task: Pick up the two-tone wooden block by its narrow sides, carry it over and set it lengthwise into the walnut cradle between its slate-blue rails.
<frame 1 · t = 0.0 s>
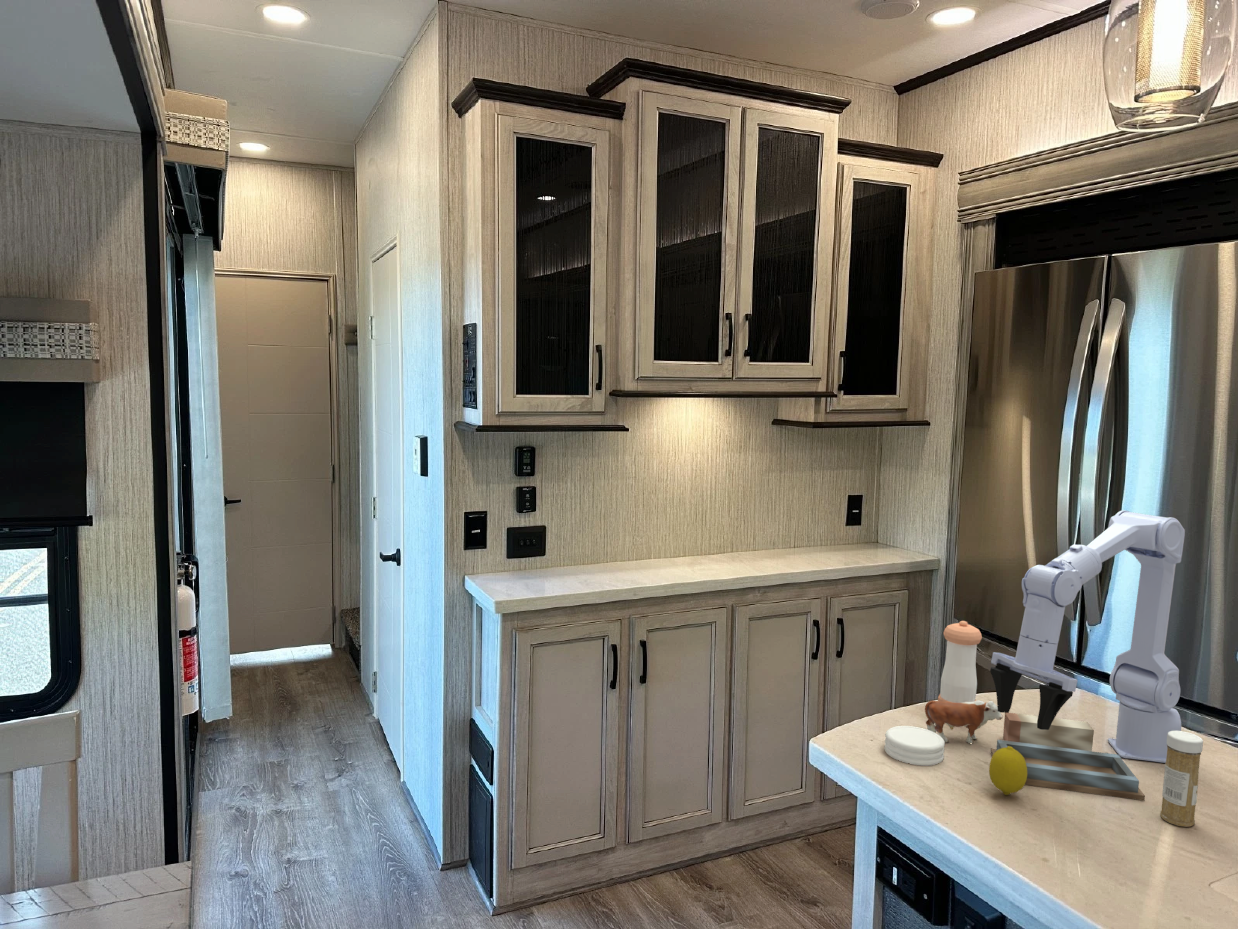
hand: (1022, 720, 143), 11 cm above the counter, tool pointing down, fingers open, 7 cm apart
spice jar: (1176, 821, 133), on the counter
bull figurine: (960, 742, 160), on the counter
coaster: (913, 756, 154), on the counter
pepper shaker: (956, 716, 173), on the counter
two-tone wooden block: (1046, 747, 159), on the counter
lemon: (1005, 796, 139), on the counter
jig: (1063, 775, 147), on the counter
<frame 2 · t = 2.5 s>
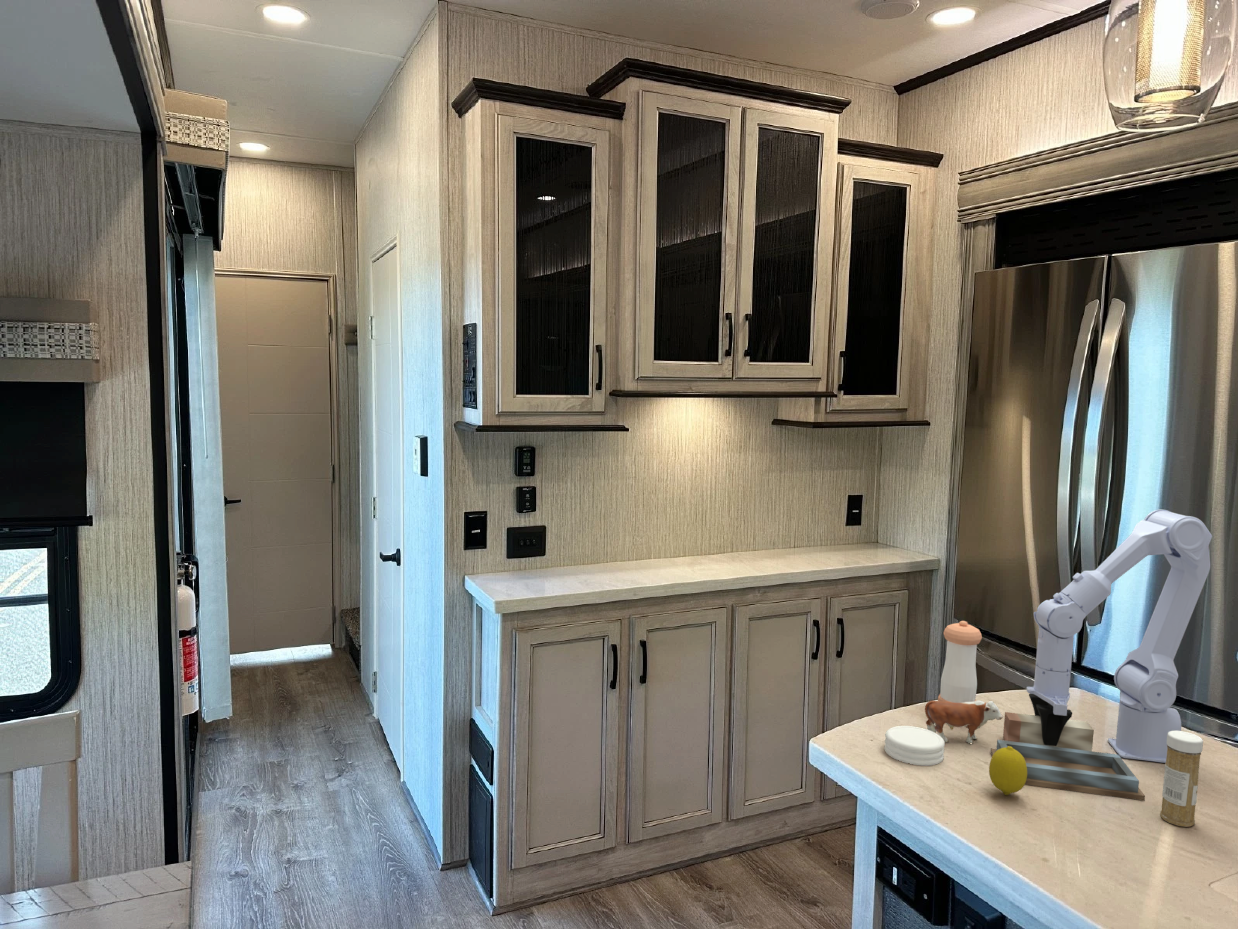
hand: (1046, 739, 159), 1 cm above the counter, tool pointing down, fingers closed on two-tone wooden block, 4 cm apart
two-tone wooden block: (1046, 747, 159), on the counter, touching gripper
everything else where it was.
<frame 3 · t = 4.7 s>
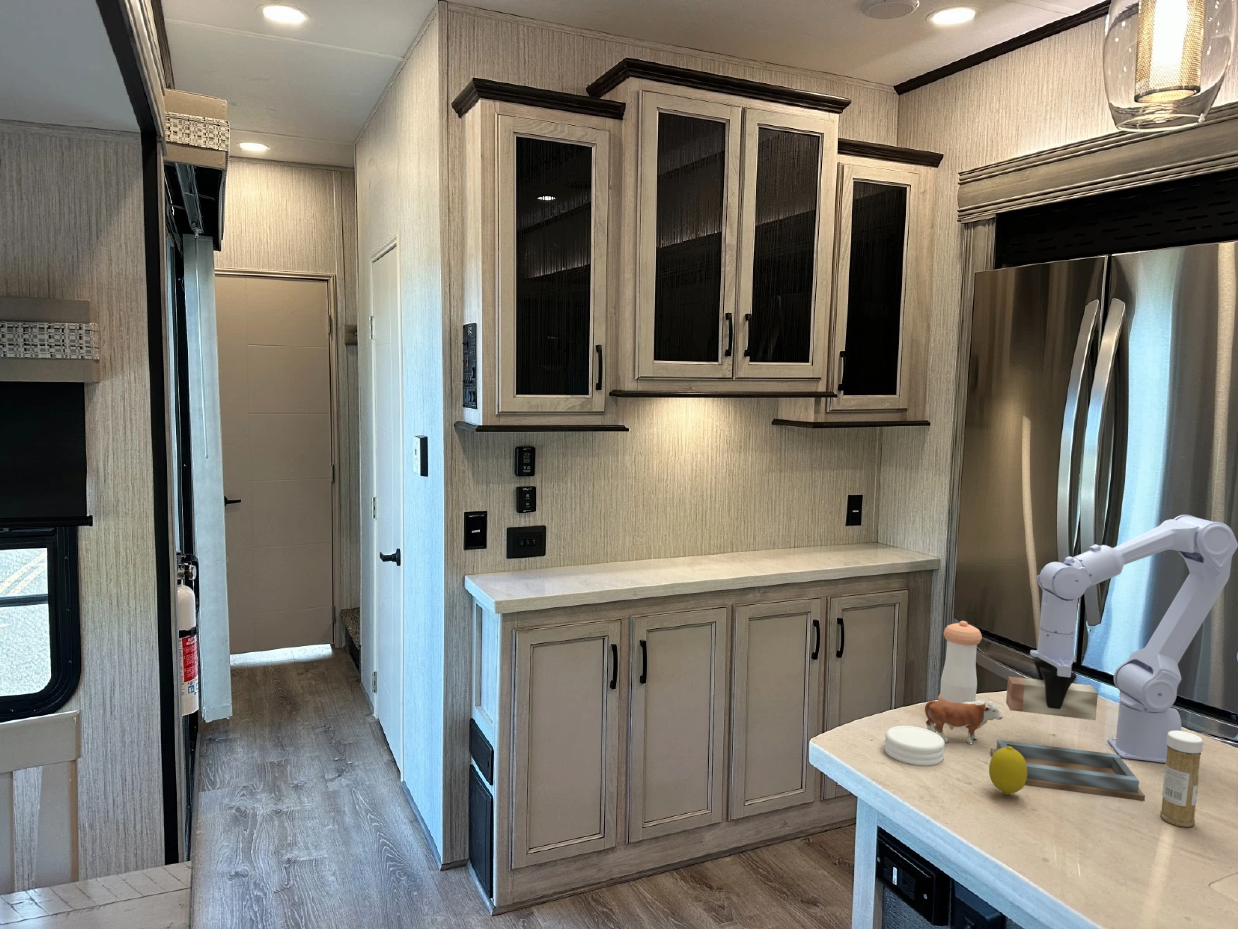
hand: (1050, 703, 158), 8 cm above the counter, tool pointing down, fingers closed on two-tone wooden block, 4 cm apart
two-tone wooden block: (1049, 711, 158), point 7 cm above the counter, touching gripper
everything else where it was.
when the fingers open (4 cm above the counter, at t = 7.1 s): two-tone wooden block drops 1 cm, resting on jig.
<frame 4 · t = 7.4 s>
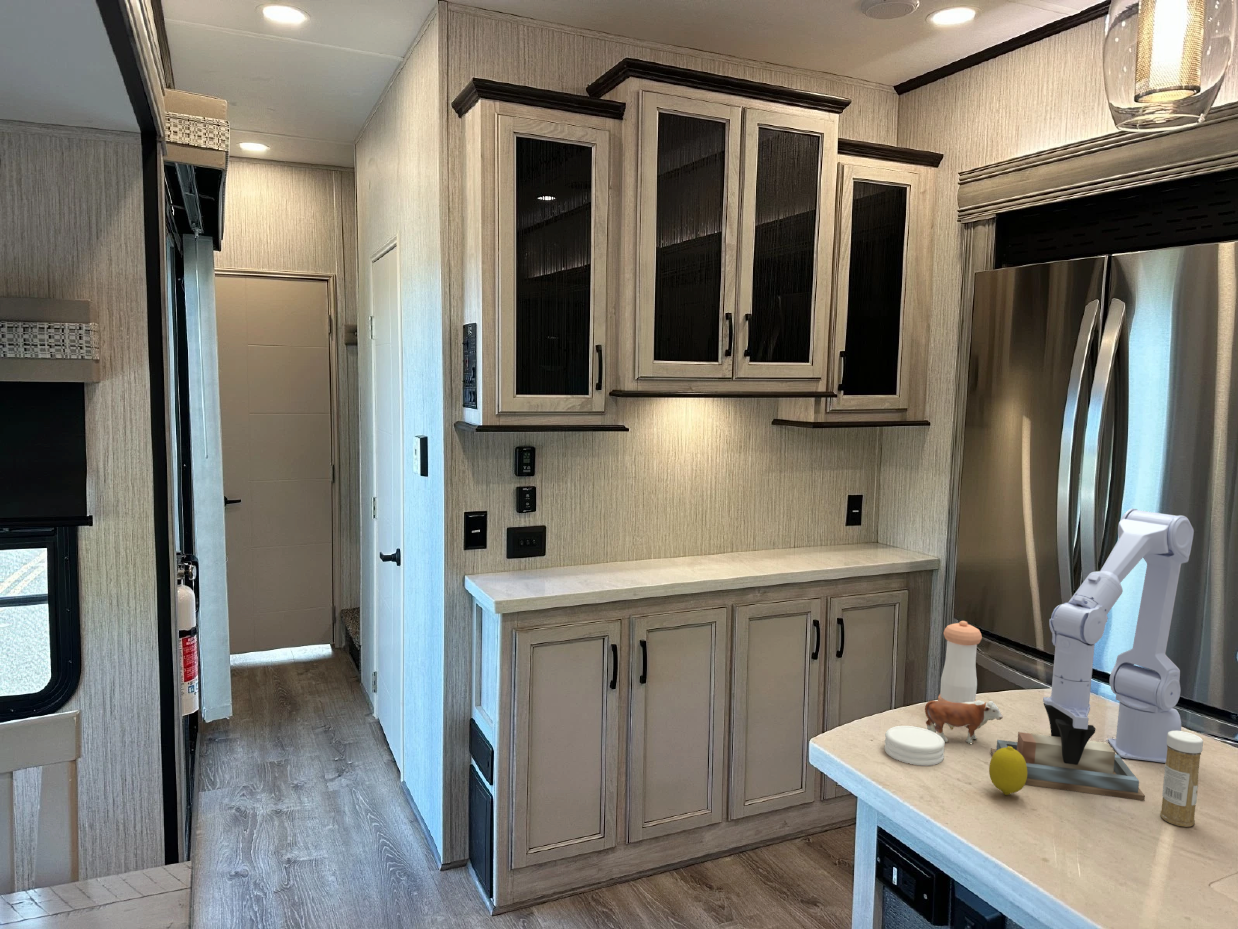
hand: (1065, 754, 147), 4 cm above the counter, tool pointing down, fingers open, 6 cm apart
two-tone wooden block: (1063, 770, 147), point 1 cm above the counter, touching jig
everything else where it was.
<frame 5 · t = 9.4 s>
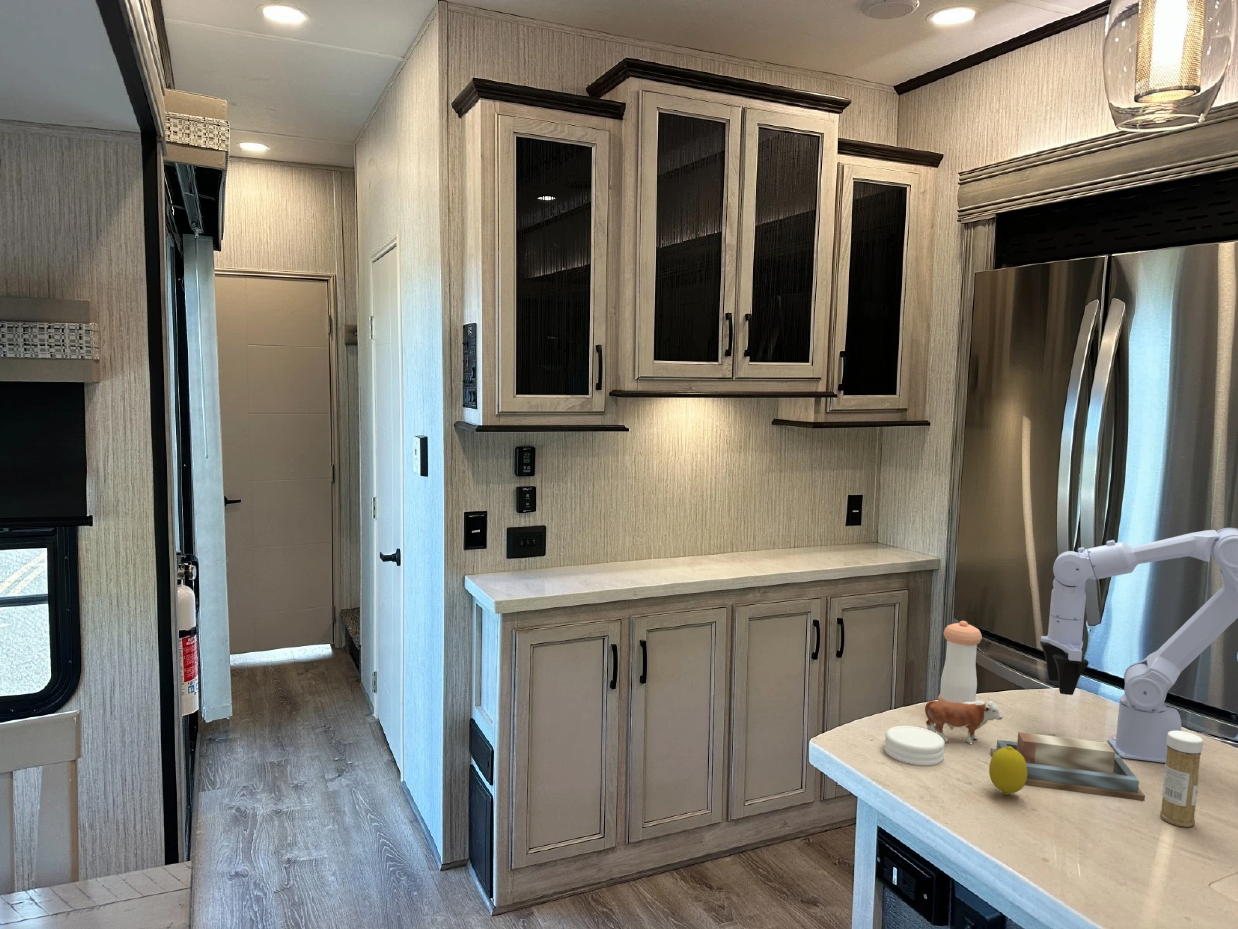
hand: (1060, 687, 164), 9 cm above the counter, tool pointing down, fingers open, 7 cm apart
nothing on the counter moved.
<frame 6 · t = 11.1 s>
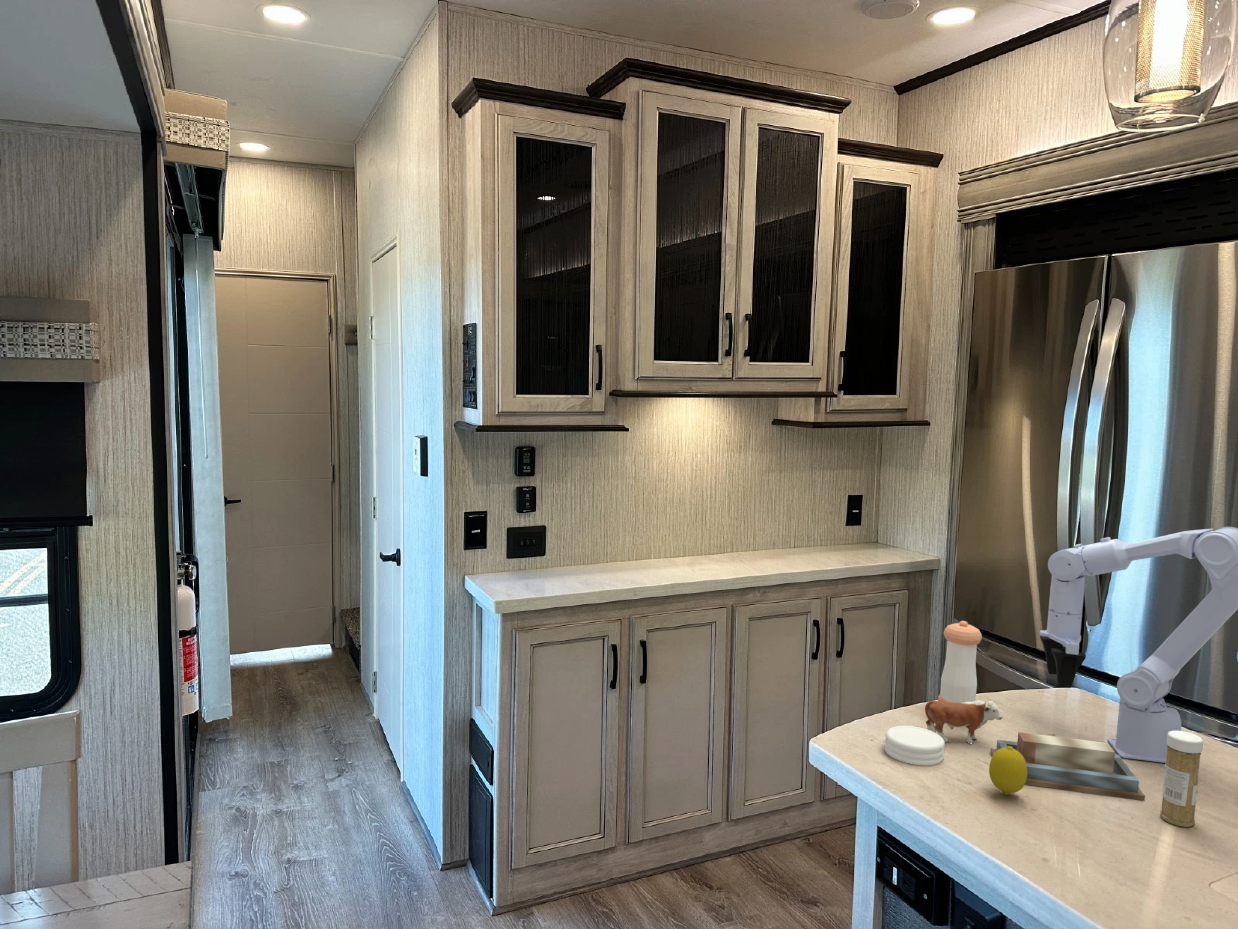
hand: (1059, 680, 168), 9 cm above the counter, tool pointing down, fingers open, 7 cm apart
nothing on the counter moved.
at the end: two-tone wooden block 0.1 cm off-centre on the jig, point 0.8 cm above the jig's base; two-tone wooden block tilted 0°; the gripper is holding nothing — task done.
